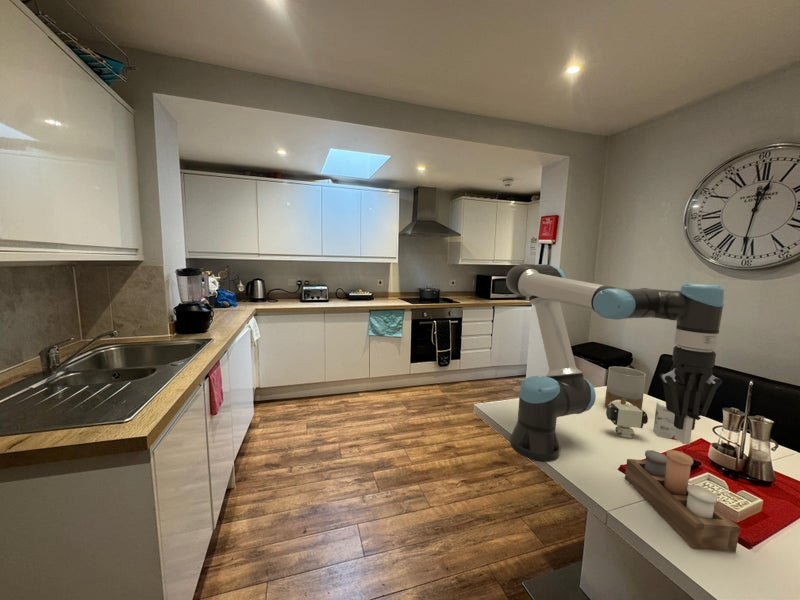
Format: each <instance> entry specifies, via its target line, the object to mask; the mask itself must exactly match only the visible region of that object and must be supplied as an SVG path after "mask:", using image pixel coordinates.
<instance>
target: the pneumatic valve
mask: <svg viewBox="0 0 800 600" xmlns="http://www.w3.org/2000/svg"><path fill="white" fill-rule="evenodd" d="M605 415H606V418H607V420H609V421H610V422H612V424H613V425H614V426H615V428H614V431H615V434H617V435H619V437H621V438H625V439H626V438H627V439H632V438H633V436H634V435H635V430H634V429H633V428H637V429H643V427H644V426H645V425H647V424H648V422H649V417H648V414H647V412H646V411H645V410H643V408H642V409H640V408H639V407H638V406H633V405H632V404H631V405H630V404H628V403H626V404H624V405H622V404H620V403H612V402H611V403H610V405H609V406H608V408H606V411H605Z"/></svg>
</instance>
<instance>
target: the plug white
mask: <svg viewBox="0 0 800 600" xmlns="http://www.w3.org/2000/svg"><path fill="white" fill-rule="evenodd" d="M687 492H688V498H687V505H686V508H687V509H688V510H690V511H691V512H692V513H693V514H694V515H695V516H696V517H697V518H709V519H712V518H713V511H714V506H715V504H717V503H718V496H717V494H715V493H714V492H713V491H712V490H710V489H708V488H706V487H703V486H701V485H697V484H688V486H687Z"/></svg>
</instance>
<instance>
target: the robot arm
mask: <svg viewBox="0 0 800 600" xmlns="http://www.w3.org/2000/svg"><path fill="white" fill-rule="evenodd" d="M505 278H506V279H505V281H506V282H505V283H506V287H507V288H508V290H509V291H510V292H511V293H513V294H515V295H517V296H518V295H519V296H523V297H527V298H528V301H529V303H530V305H533V306H534V308H535V312H536V317H537V322H538V325H539V330H540V335H541V338H542V339H541V340H542V344H543V348H544V352H545V356H546V360H547V361H546V362H547V366H548V372H547V374H546V375H545V376H544V375H540V376H539V375H534V376H533V375H531V376H528V377H525V378H524V379H523V380H522V381H521V383H520V389H519V391H518V394H519V395H518V397H519V399H518V409H517V410H518V413H517V422H516V424H515V426H514V428H513V430H512V433H511V435H510V441H509V442H510V447H511V448H512V449H513V450H514V451H515V452H516V453H517V454H519V455H521V456H523V457H524V458H527V459H530V460H533V461H537V462H552V461H555V460H557V459H559V457H560V452H561V451H560V450H561V449H560V444H559V443H560V442H559V439H558V435H557V432H556V427H557V426H556V425H557V418H561V417H566V416H571V415H580V414H582V413H585V412H588V411H590V410H591V409H592V407H594V405H595V403H596V397H597V396H596V389H595V388H594V386H593V384H592V383H591V382H590V381H589V380H588V379H586V378H585V377H584V374H583V371H581V370H580V369H578V368H577V366H576V361H575V358H574V353H573V350H572V346H571V342H570V337H569V333H568V329H567V325H566V321H565V318H564V314H563V309H562V305H561V304H564V305H567V306H571V307H575V308H580V309H583V310H586V311H589V312H594V313H596V314H597V315H598V316H599V317H601V318H603V319H610V320H616V321H617V320H623V319H624V320H626V319H642V318H644V319H645V318H649V319H650V318H652V319H662V320H669V321H676V328H675V334H674V340H673V343H674V345H675V346H674V347H673V350H672V356H671V357H672V362H673V363H672V366H671V368H670V371H668V372H667V373H663V372H661V373H660V374H659V378H660V379H661V381H662V384H663V385H662V387H663V392H664V399H665V400H664V401H665V403H666V408H667V410H668V411H670V412H672V413H674V414H675V418H674V427H676V430H675V439H677V440H676V441H678V442H680V443H681V444H682V445H690V443H691V440H692V439H691V438H692V431H694V429H695V425H696V421H699V420H701V417H705V416H707V414H708V411H709V409H710V406H711V403H712V401H713V399H714V397H715V394H716V391H717V390H718V388H720V386H721V385H722V384H723V379H721V378H719V377H716V376H715V375H713V370H712V368H714V367H715V364H716V358H717V353H716V352H715V350H717V348H718V343H719V334H720V328H721V327H720V326H721V320H722V314H723V309H724V307H725V303H724V297H725V289H724V287H723V286H721V285H718V284H703V283H701V284H700V283H684V284H682V285H681V287H680V289H679V290H666V289H658V288H647V287H645V288H644V287H640V288H638V287H635V288H620V287H615V286H610V285H604V284H598V283H593V282H588V281H583V280H577V279H572V278H567V277H566V275H565V273H564V272H563V270H562V269H561V268H560V267H558V266H556V265H551V264H533V263H531V264H530V263H520V264H517V265H514V266H513V267H512V268H511V269H509V271H508V272H507V275H506V277H505Z"/></svg>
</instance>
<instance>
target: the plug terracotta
mask: <svg viewBox="0 0 800 600" xmlns="http://www.w3.org/2000/svg"><path fill="white" fill-rule="evenodd" d="M665 456H667V457H668V458H667V465H666V472H665V480H664V488H666V489H667V490H668V491H669V492H670V493H671V494H672V495H681V496H687V486H688V485H689V481H690V475H691V470H692V469H691V467H692V466H693V465H694V458H692V457H691V456H690V455H688V454H686V453H684V452H682V451H678V450H673V449H668V450H667V451H666V455H665Z"/></svg>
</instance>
